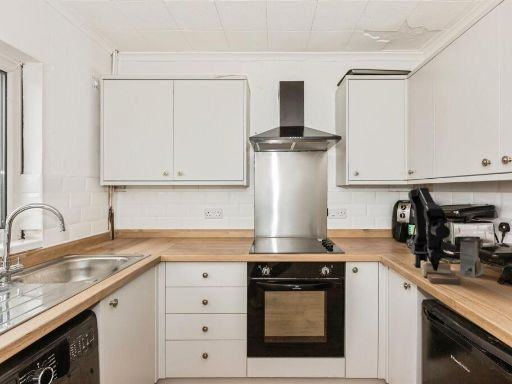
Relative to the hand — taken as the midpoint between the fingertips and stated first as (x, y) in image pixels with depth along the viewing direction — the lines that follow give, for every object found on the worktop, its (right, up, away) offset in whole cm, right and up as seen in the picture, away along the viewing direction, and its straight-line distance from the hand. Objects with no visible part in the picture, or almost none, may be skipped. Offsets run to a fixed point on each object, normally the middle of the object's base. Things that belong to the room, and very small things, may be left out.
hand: (434, 269), depth 153 cm
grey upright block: (+18, -3, +2) cm, 18 cm away
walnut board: (+1, -3, -4) cm, 5 cm away
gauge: (0, -2, 0) cm, 2 cm away
